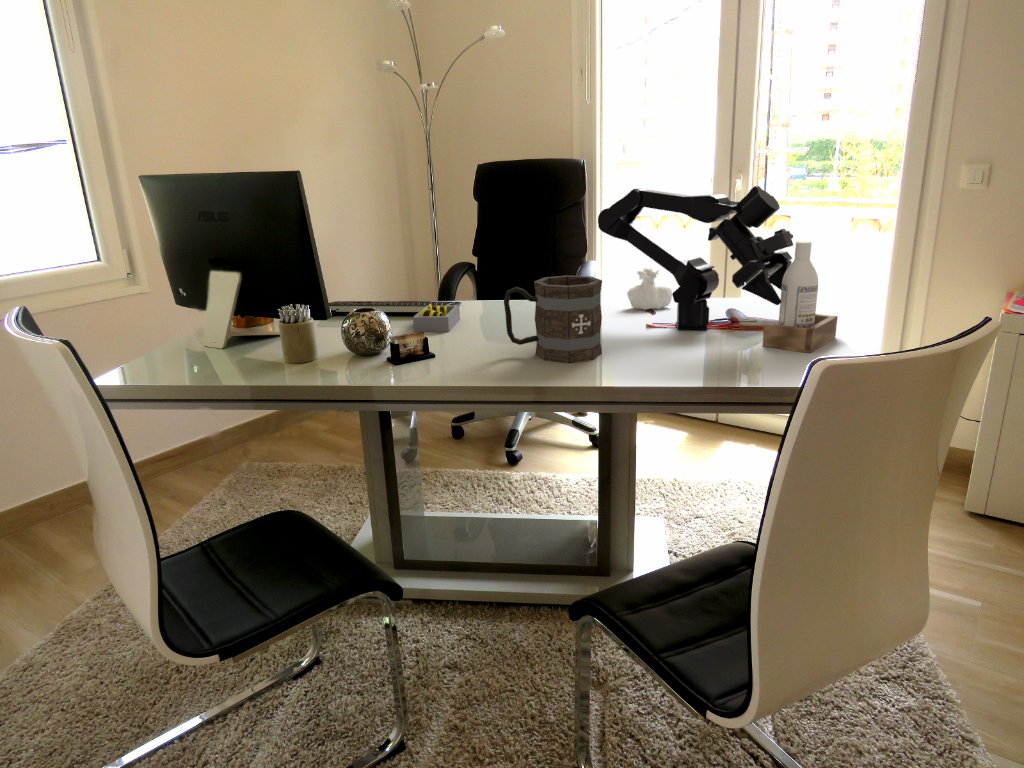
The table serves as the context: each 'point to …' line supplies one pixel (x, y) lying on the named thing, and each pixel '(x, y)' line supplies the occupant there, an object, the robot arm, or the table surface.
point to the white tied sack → (649, 292)
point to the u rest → (801, 335)
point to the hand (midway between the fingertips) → (787, 300)
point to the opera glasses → (434, 311)
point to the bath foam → (799, 290)
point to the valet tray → (437, 321)
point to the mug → (563, 318)
